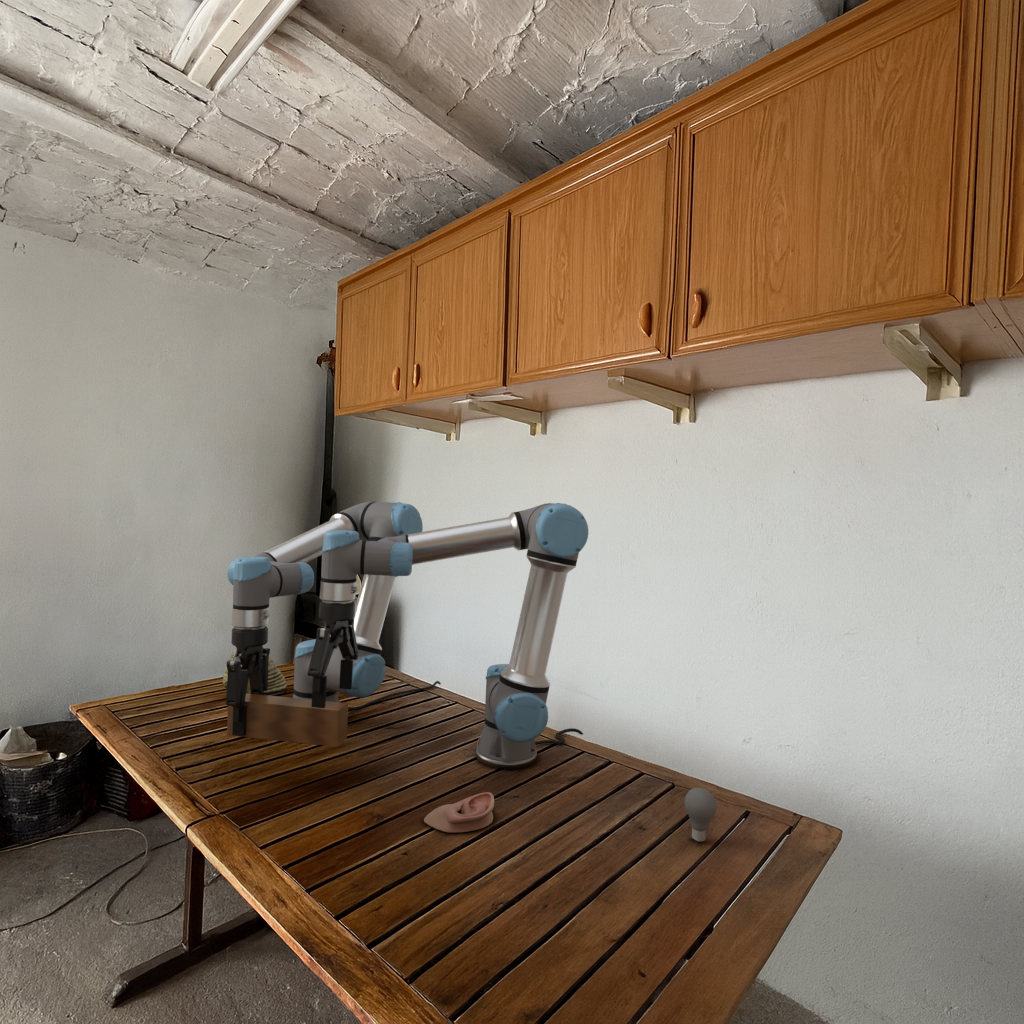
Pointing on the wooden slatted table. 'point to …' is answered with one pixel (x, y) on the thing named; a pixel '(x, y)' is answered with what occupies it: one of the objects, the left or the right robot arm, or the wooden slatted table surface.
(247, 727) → the bar
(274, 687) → the fossil
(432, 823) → the anatomical model
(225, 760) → the wooden slatted table surface
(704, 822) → the light bulb
